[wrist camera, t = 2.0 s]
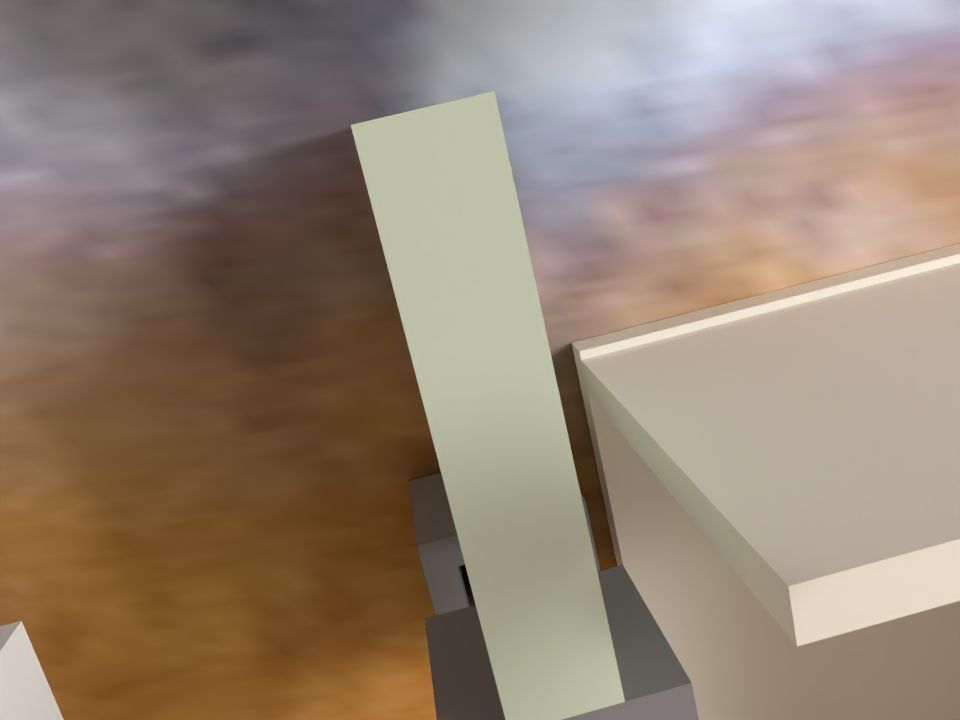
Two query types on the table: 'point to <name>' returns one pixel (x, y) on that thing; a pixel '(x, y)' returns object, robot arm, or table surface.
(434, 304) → the door
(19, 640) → the robot arm
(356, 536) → the table surface
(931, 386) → the carcass
